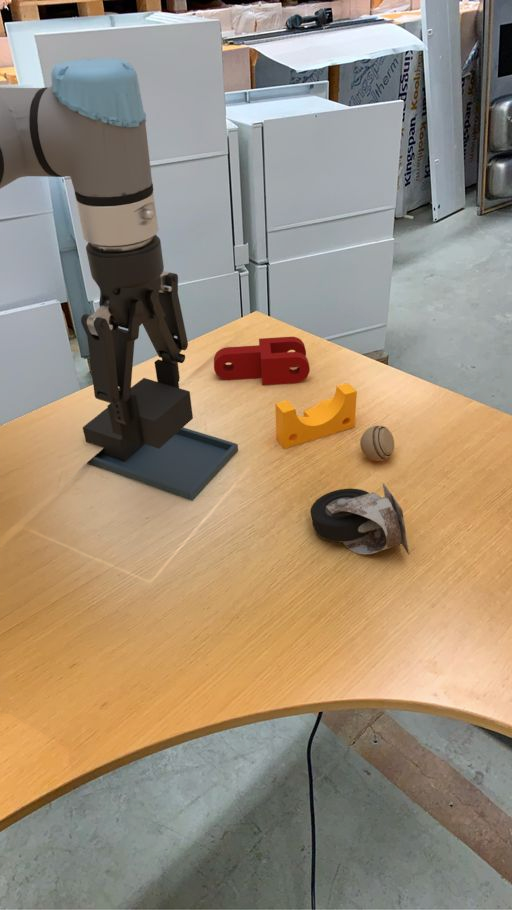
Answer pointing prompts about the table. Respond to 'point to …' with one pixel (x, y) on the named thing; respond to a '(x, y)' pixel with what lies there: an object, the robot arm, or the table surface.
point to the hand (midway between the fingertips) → (153, 423)
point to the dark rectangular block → (158, 411)
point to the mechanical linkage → (264, 361)
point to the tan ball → (377, 443)
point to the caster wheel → (360, 520)
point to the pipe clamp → (316, 418)
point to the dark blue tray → (174, 463)
